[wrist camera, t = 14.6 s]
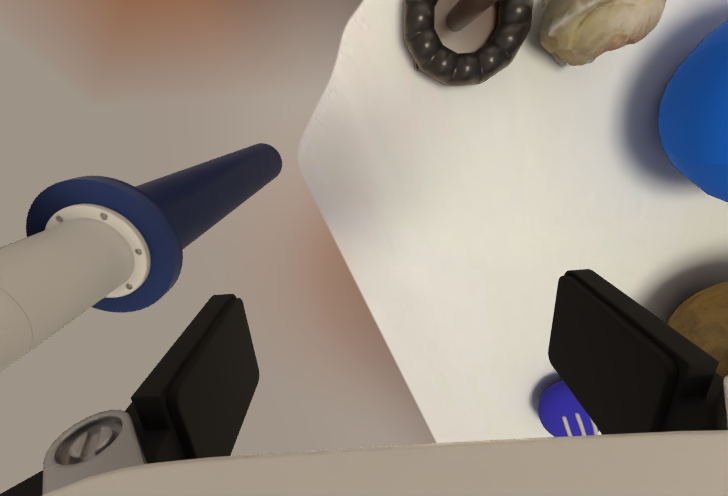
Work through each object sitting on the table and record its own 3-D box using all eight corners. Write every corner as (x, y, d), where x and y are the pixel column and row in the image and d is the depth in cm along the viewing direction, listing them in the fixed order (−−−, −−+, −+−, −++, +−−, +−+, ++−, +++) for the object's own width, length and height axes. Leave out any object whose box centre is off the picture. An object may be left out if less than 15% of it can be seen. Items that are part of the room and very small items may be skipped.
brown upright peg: (414, 70, 36) (441, 48, 22) (413, -25, 33) (444, -117, 19) (492, 64, 36) (570, 39, 22) (499, -32, 33) (593, -131, 19)
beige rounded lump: (519, 43, 37) (521, 24, 29) (580, -50, 33) (604, -105, 24) (598, 89, 36) (625, 84, 28) (671, -1, 32) (730, -39, 23)
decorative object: (629, 456, 47) (549, 459, 50) (608, 420, 53) (536, 425, 55) (626, 395, 44) (540, 402, 46) (604, 364, 49) (528, 372, 52)
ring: (403, 90, 36) (406, 88, 33) (401, -51, 32) (403, -65, 29) (518, 81, 36) (530, 79, 33) (531, -63, 31) (546, -78, 29)
